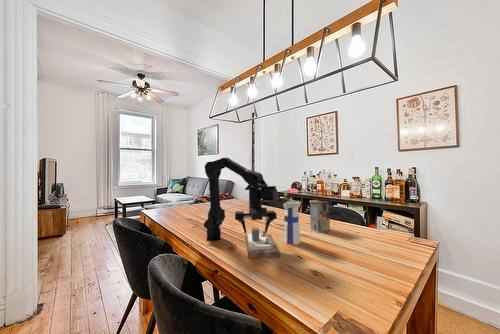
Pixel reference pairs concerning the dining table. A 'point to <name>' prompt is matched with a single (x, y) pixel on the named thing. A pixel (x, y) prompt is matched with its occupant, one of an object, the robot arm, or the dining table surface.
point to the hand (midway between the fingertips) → (255, 233)
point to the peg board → (266, 252)
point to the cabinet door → (257, 240)
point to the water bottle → (291, 222)
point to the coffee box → (319, 216)
